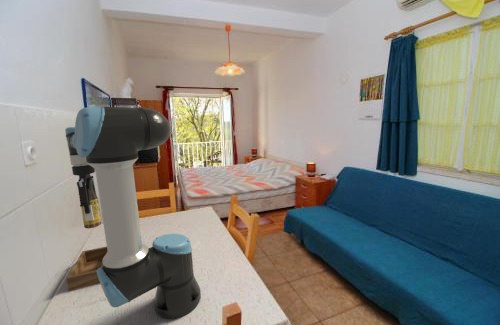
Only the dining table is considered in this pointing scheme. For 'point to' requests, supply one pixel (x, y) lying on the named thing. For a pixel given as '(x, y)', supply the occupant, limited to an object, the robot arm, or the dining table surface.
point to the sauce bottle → (95, 210)
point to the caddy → (86, 269)
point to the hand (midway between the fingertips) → (92, 217)
